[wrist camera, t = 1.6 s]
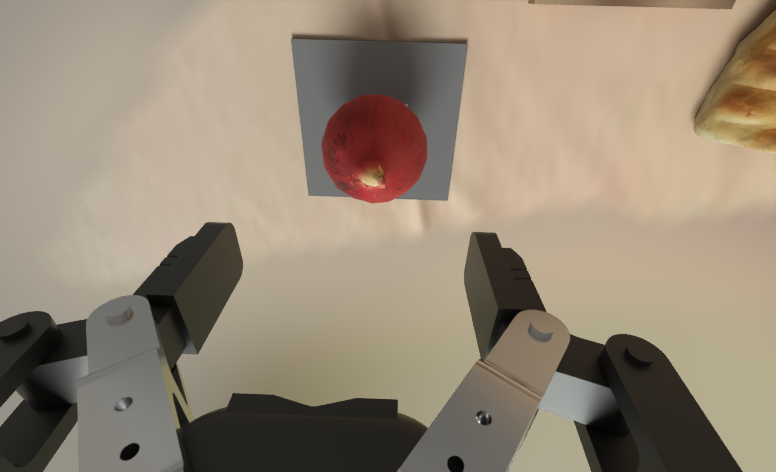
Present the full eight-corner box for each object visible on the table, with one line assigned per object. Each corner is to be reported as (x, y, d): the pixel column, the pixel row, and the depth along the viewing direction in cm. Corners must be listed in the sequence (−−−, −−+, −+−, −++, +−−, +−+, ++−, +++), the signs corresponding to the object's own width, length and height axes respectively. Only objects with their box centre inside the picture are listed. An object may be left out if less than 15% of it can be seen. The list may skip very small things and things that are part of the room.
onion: (360, 183, 26) (345, 251, 19) (315, 108, 23) (280, 156, 16) (437, 149, 24) (450, 209, 17) (400, 63, 21) (398, 96, 15)
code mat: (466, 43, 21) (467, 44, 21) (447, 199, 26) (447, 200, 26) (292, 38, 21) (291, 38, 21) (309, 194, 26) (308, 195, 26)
